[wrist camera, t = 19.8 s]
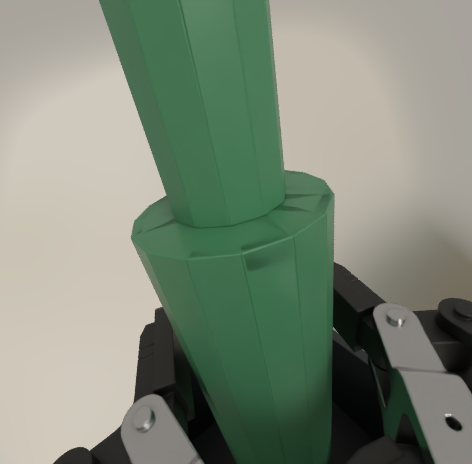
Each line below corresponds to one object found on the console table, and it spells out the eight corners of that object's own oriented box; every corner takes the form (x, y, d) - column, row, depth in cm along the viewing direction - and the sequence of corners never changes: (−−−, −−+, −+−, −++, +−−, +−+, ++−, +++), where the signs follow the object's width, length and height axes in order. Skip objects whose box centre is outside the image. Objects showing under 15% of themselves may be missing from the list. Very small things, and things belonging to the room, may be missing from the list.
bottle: (300, 403, 18) (256, -16, 7) (349, 499, 13) (452, -268, 2) (235, 434, 17) (61, 9, 6) (263, 548, 12) (-235, -321, 1)
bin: (285, 353, 22) (276, 290, 18) (429, 486, 14) (467, 421, 10) (176, 453, 17) (134, 395, 14) (296, 757, 9) (272, 828, 5)
